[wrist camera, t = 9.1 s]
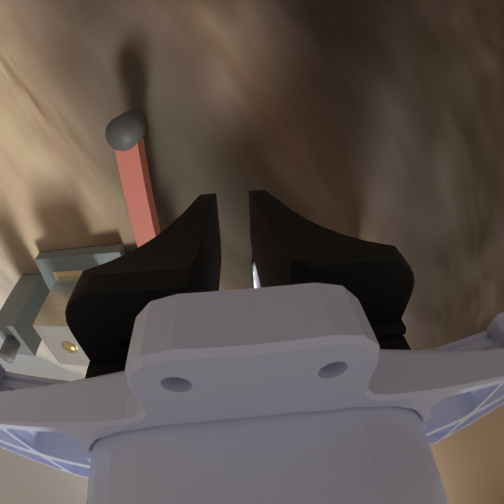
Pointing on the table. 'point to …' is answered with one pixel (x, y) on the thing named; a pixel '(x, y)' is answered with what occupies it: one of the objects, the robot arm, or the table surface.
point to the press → (43, 294)
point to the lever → (134, 172)
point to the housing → (59, 324)
